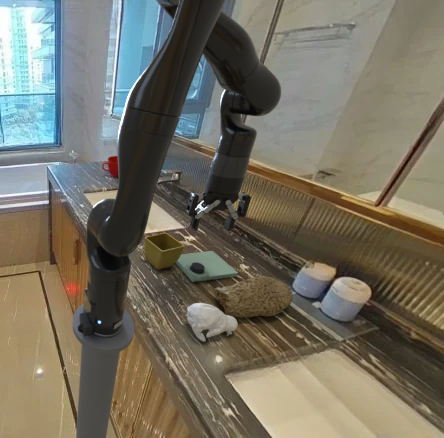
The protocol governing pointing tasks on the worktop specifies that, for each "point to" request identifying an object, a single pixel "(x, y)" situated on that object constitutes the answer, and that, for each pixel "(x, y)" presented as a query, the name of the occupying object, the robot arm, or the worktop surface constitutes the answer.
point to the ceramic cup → (112, 166)
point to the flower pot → (162, 250)
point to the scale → (206, 266)
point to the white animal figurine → (209, 320)
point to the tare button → (197, 268)
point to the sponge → (255, 297)
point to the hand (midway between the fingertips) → (210, 229)
